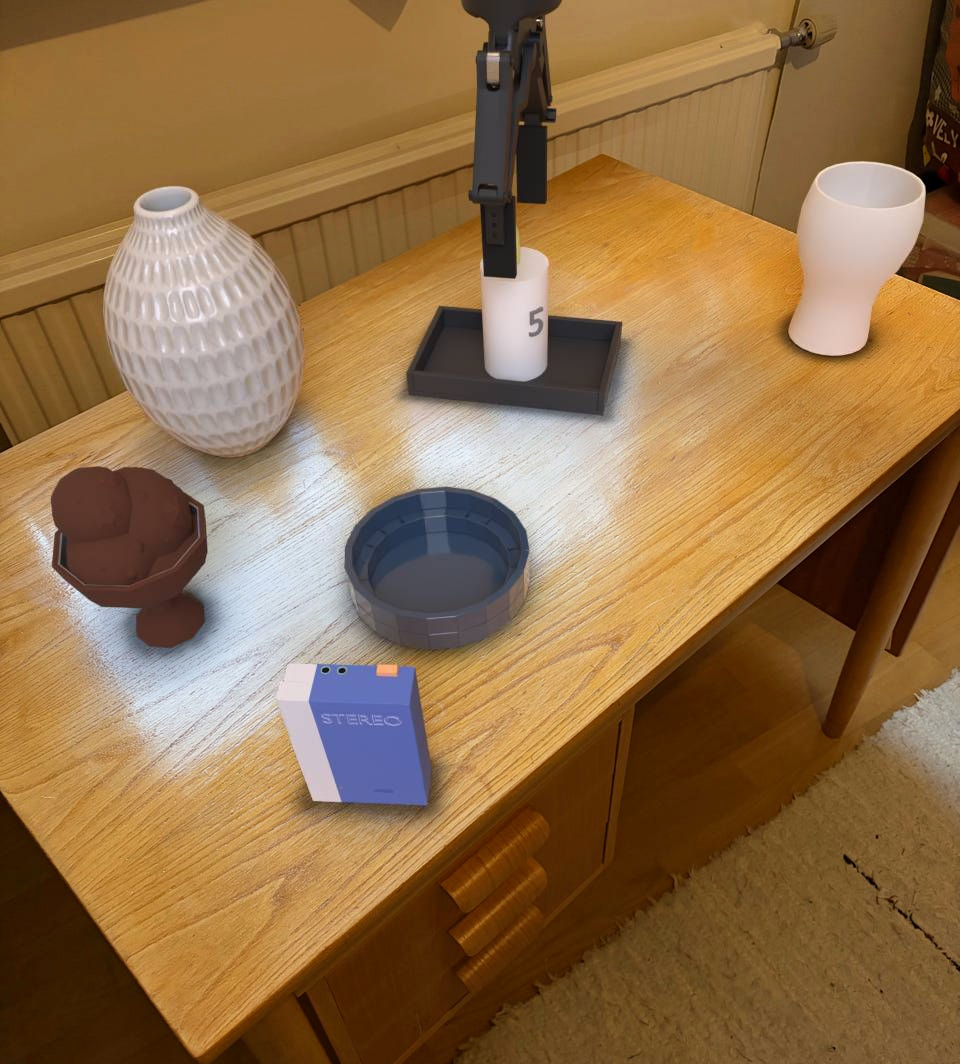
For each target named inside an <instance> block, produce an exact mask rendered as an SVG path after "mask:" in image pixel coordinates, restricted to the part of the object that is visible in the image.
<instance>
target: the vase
mask: <svg viewBox="0 0 960 1064" xmlns="http://www.w3.org/2000/svg"><path fill="white" fill-rule="evenodd" d="M133 213H134V216H133V221H132V223H131V224H130V226H129V228H128V229H127V232H126V233H125V235H124V237H123V238H122V240H121V242H120V243H119V246H118V248H117V249H116V251H115V253H114V255H113V257H112V259H111V262H110V265H109V267H108V270H107V272H106V273H107V274H106V279H105V285H104V289H103V304H102V315H103V316H102V317H103V324H104V325H103V326H104V333H105V339H106V343H107V346H108V350H109V354H110V357H111V359H112V362H113V365H114V367H115V368H116V372H117V373H118V376H119V379H120V381H121V382H122V384H123V386H124V387H125V389H126V391H127V392H128V394H129V396H130V397H131V399H132V400H133V402H134V403H135V404H136V405H137V407H138V408H140V410H141V411H142V412H143V413H144V415H146V416H147V418H149V420H150V421H151V422H152V423H153V424H155V426H157V427H159V428H160V429H161V430H163V431H164V432H166V433H167V434H168V435H169V436H171V437H172V438H174V439H175V440H176V441H178V442H180V443H182V444H184V445H186V446H188V447H190V448H192V449H194V450H195V451H199V452H203V453H206V454H209V455H211V456H216V457H218V458H219V457H220V458H228V459H230V458H231V459H233V458H240V457H245V456H248V455H251V454H254V453H256V452H258V451H260V450H261V449H263V448H264V447H265V446H267V445H268V444H269V443H270V441H272V439H274V437H275V436H276V435H278V433H279V432H280V431H281V430H282V428H283V427H284V425H286V423H287V421H288V419H289V418H290V416H291V414H292V412H293V410H294V407H295V406H296V403H297V400H298V398H299V395H300V392H301V390H302V385H303V380H304V374H305V373H304V372H305V368H306V346H305V344H306V343H305V342H306V341H305V334H304V329H303V324H302V318H301V315H300V311H299V309H298V306H297V303H296V300H295V296H294V294H293V291H292V290H291V288H290V286H289V284H288V282H287V280H286V278H285V276H284V274H283V272H282V271H281V270H280V268H279V267H278V266H277V264H276V262H275V261H274V260H273V258H272V257H271V255H270V254H269V253H268V252H267V251H266V249H265V248H263V246H262V245H260V243H259V242H258V241H257V240H256V239H254V238H253V237H252V236H251V235H249V234H248V233H247V232H246V231H245V230H243V229H242V227H239V226H238V225H236V224H235V223H233V222H232V221H231V220H229V219H227V218H225V217H224V216H222V215H221V214H219V213H217V212H216V211H214V210H212V209H210V207H207V206H206V205H205V204H203V202H202V200H201V198H200V195H199V194H198V193H197V192H196V191H195V190H193V189H191V188H190V187H186V186H180V185H169V186H161V187H156V188H154V189H150V190H148V191H146V192H144V193H142V194H141V195H140V196H138V197H137V199H136V200H135V201H134V202H133Z"/></svg>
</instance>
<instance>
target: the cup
mask: <svg viewBox="0 0 960 1064" xmlns="http://www.w3.org/2000/svg"><path fill="white" fill-rule="evenodd" d="M926 193H927V191H926V185H925V184H924V182H923V180H922V179H921V178H920V177H918V176H917V175H916V174H914V173H913V172H911V171H909V170H906V169H904V168H903V167H899V166H896V165H894V164H893V165H892V164H890V163H889V164H888V163H883V162H877V161H846V162H842V163H836V164H833V165H831V166H828V167H825V168H824V169H823V170H821V171H819V172H818V173H817V175H816V176H815V178H814V180H813V182H812V184H811V186H810V188H809V190H808V192H807V194H806V196H805V198H804V201H803V202H802V204H801V209H800V213H799V218H798V222H797V228H796V240H797V241H796V242H797V256H798V260H799V263H800V266H801V270H802V274H803V283H802V290H801V291H802V292H801V297H800V300H799V301H798V303H797V306H796V308H795V311H794V313H793V314H792V317H791V320H790V323H789V325H788V329H787V330H788V332H787V333H788V336H789V338H790V340H792V342H793V343H794V345H797V346H798V347H800V348H801V349H803V350H806V351H808V352H810V353H814V354H817V355H818V354H819V355H822V356H832V357H833V356H836V357H837V356H845V355H850V354H853V353H855V352H858V351H860V350H861V349H862V348H864V347H865V346H866V343H867V342H868V338H869V332H870V327H871V318H872V309H873V306H874V304H875V303H876V300H877V298H878V295H879V294H880V291H881V290H882V288H883V287H884V285H885V284H886V283H887V282H888V281H890V279H891V278H892V277H894V275H895V274H896V273H898V271H899V270H900V269H901V267H902V265H903V264H904V262H905V261H906V259H907V258H908V257H909V255H910V253H911V252H912V250H913V249H914V248H915V245H916V243H917V240H918V237H919V235H920V231H921V228H922V225H923V223H924V215H925V206H926V205H925V204H926Z"/></svg>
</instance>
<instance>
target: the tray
mask: <svg viewBox="0 0 960 1064" xmlns="http://www.w3.org/2000/svg"><path fill="white" fill-rule="evenodd" d="M622 332H623V321H619V320H617V321H616V320H608V319H595V318H586V317H585V318H584V317H574V316H573V317H572V316H561V315H552V314H551V315H549V314H548V349H547V367H546V370H545V371H544V372H543V373H542V374H541V375H540V376H538V377H536V378H534V379H532V380H529V381H524V382H523V381H514V380H504V379H496V378H494V377H492V376H491V375H490V374H489V373H488V372H487V371H486V369H485V362H484V341H483V320H482V308H471V307H459V306H448V305H438V307H437V309H436V311H435V313H434V315H433V317H432V319H431V321H430V323H429V325H428V327H427V330H426V332H425V334H424V335H423V338H422V340H421V341H420V344H419V346H418V348H417V350H416V353H415V354H414V356H413V358H412V361H411V362H410V365H409V366H408V369H407V371H406V381H407V389H408V395H409V396H419V397H426V398H427V397H428V398H437V399H447V400H455V401H466V402H473V403H484V404H493V405H502V406H512V407H521V408H528V409H529V408H530V409H540V410H547V411H548V410H550V411H559V412H567V413H577V414H587V415H595V416H596V415H597V416H604V415H605V411H606V410H605V409H606V405H607V402H608V397H609V393H610V390H611V389H610V388H611V385H612V381H613V377H614V373H615V368H616V364H617V360H618V356H619V353H620V352H619V351H620V348H621V343H622Z"/></svg>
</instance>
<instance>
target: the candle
mask: <svg viewBox="0 0 960 1064" xmlns="http://www.w3.org/2000/svg"><path fill="white" fill-rule="evenodd" d="M516 251H517V276H516V278H515V279H510V278H496V277H484V271H483V257H482V259H481V260H480V262H479V276H480V277H479V279H480V296H481V297H480V299H481V300H480V301H481V309H482V320H483V341H484V362H485V369H486V371H487V372H488V373H489V374H490V375H491V376H492V377H494V378H496V379H504V380H514V381H523V382H524V381H529V380H532V379H534V378H536V377H538V376H540V375H541V374H542V373H543V372H544V371H545V370H546V367H547V349H548V315H549V268H550V263H549V259H548V257H547V256H546V255H545V254H544V253H543V252H541V251H539V250H537V249H535V248H532V247H526V246H521V241H520V233H519V229H518V225H517V223H516Z"/></svg>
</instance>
